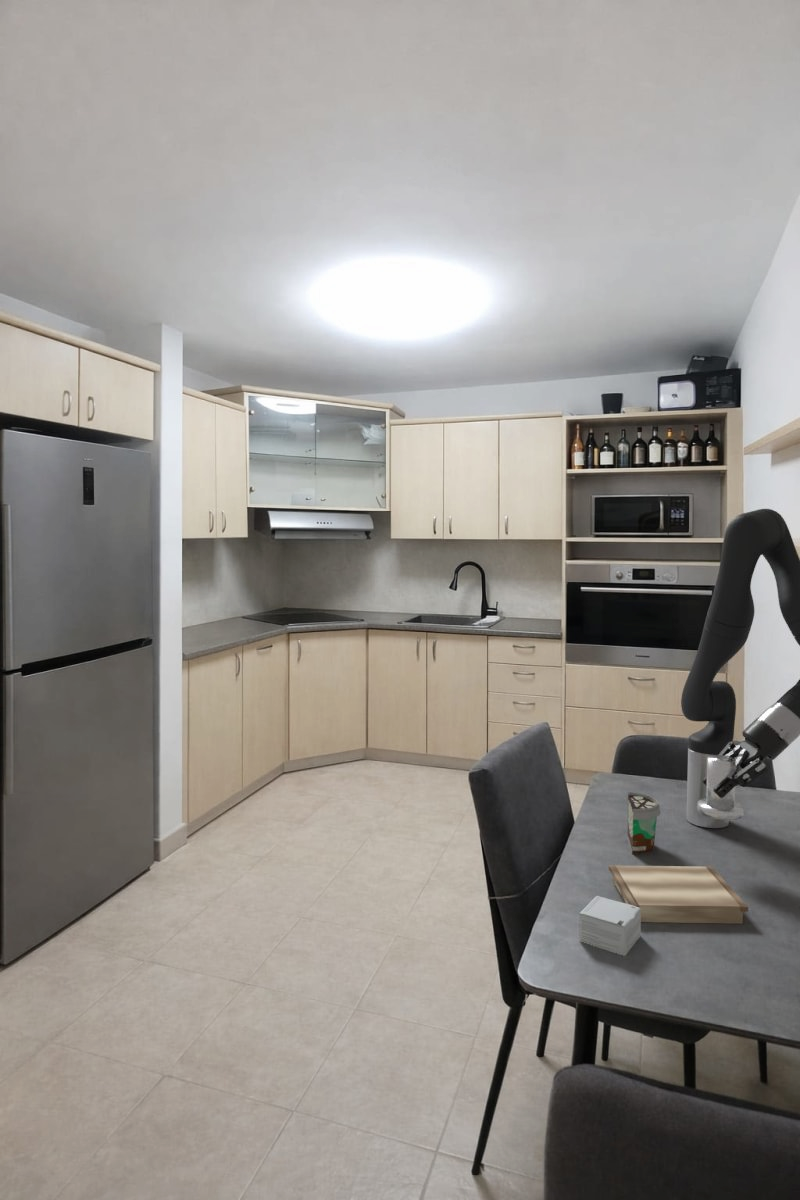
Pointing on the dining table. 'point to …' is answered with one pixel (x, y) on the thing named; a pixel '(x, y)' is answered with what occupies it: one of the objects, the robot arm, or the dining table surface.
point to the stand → (678, 894)
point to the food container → (642, 822)
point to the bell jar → (713, 803)
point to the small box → (610, 925)
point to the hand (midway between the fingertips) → (711, 789)
